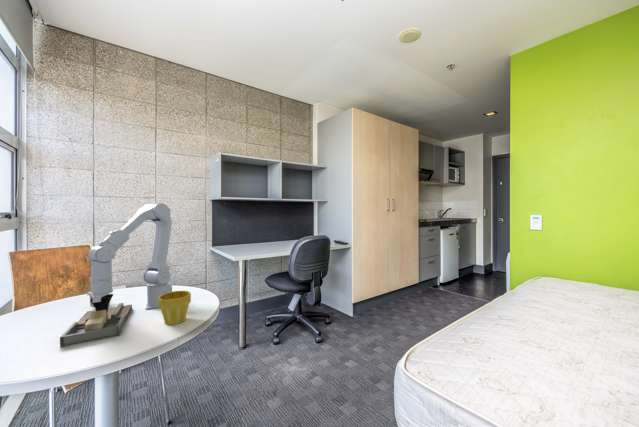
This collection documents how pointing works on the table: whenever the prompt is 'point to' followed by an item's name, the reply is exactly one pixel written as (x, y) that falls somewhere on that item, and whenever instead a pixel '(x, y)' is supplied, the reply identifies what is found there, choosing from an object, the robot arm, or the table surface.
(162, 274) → the robot arm
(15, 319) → the table surface
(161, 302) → the plant pot
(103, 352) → the table surface
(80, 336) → the tray
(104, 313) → the light wooden cube
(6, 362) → the table surface
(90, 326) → the beige cube
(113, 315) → the slot bed
